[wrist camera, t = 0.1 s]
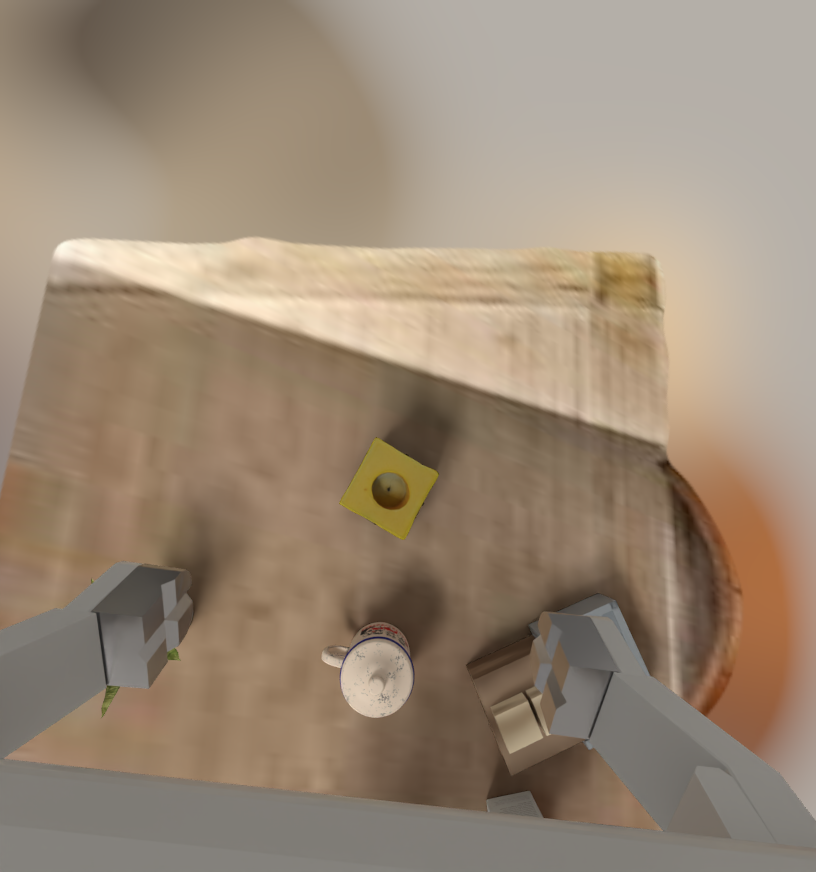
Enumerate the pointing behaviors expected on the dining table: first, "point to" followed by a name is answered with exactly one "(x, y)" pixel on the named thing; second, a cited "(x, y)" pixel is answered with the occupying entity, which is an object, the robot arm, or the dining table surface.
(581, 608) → the tray
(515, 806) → the small box
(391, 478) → the candle
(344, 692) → the teacup with lid
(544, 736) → the brown and beige block
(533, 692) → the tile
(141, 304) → the dining table surface
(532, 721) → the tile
